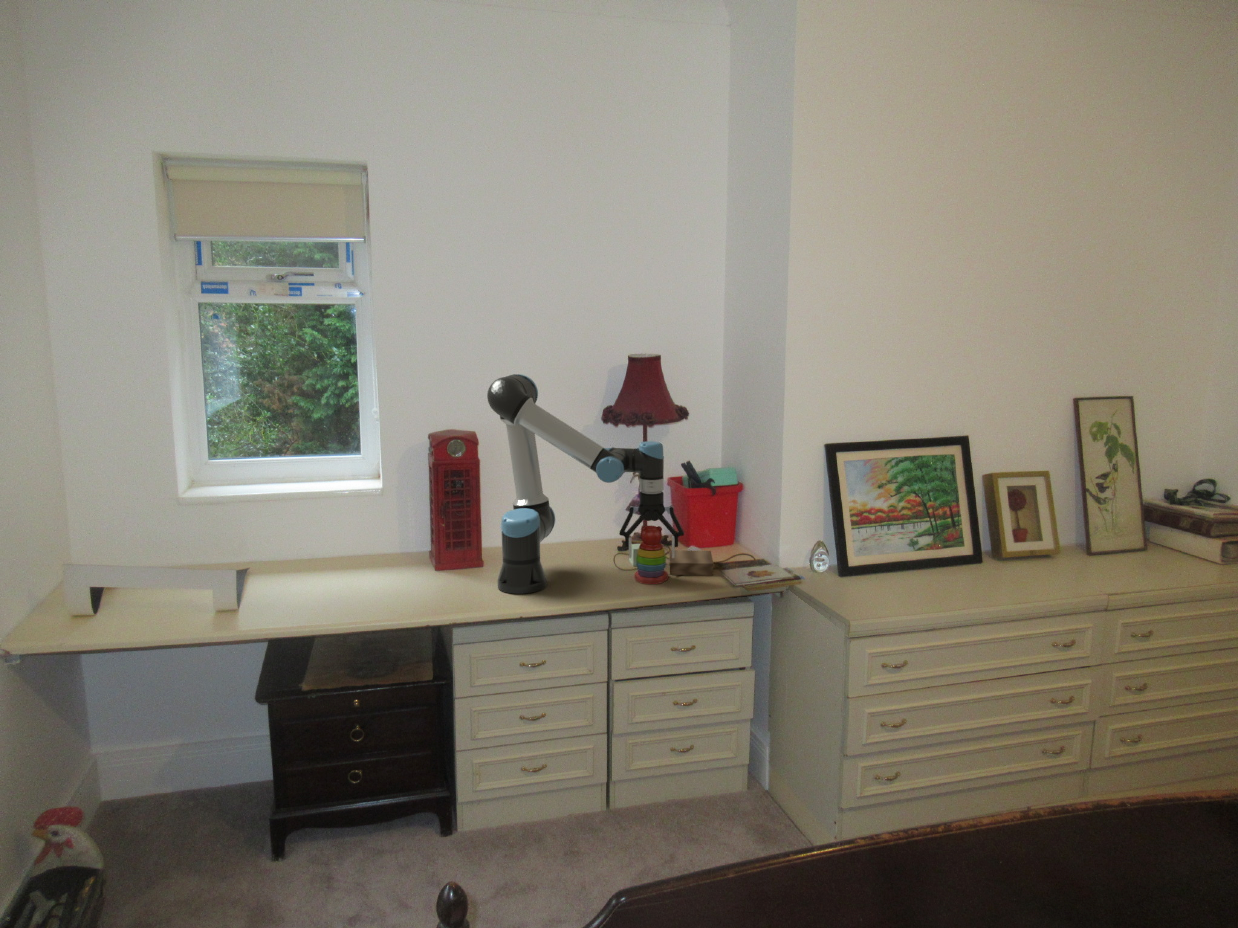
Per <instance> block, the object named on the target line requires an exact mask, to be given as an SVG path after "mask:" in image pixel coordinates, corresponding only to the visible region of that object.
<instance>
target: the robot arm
mask: <svg viewBox="0 0 1238 928" xmlns="http://www.w3.org/2000/svg"><path fill="white" fill-rule="evenodd" d="M538 397H539V390H538V387H537V384H536V383H535V381H534V380H533V379H532V378H530V377H529V376H527V375H524V374H516V373H515V374H514V373H513V374H509V375H506V376H503V377H499V378H497V379H495V380H494V381H493V382H492V383H491V384H490V385H489V387H488V389H487V403H488V405H489V407H490V409H492V411H493V412H494V413H495V414H497V415H499V418H500V421H501V422H502V423H503V424H505V427H506V434H507V440H508V446H509V453H510V454H509V455H510V459H511V460H510V461H511V467H512V468H511V469H512V474H513V475H512V476H513V482H514V487H515V488H514V489H515V494H516V498H515V499H514V501H512V507H513V510H508V511H506V512H505V513H504V514H503V515H502V517H501V524H500V530H501V550H502V551H501V553H502V564H501V567H500V570H499V574H498V577H497V589H498V590H499V591H501V592H502V593H503V592H504V593H508V594H512V595H513V594H514V595H519V594H520V595H521V594H522V595H523V594H524V595H525V594H533V593H536V592H540V591H542V590H544V589H546V587H547V576H546V573H545V571H544V568H543V565H542V562H541V542H543V541H544V540H545V539H546V538H547V537H548V536H549V535H550V534H551V533H552V531H553V529H554V527H555V524H556V515H555V512H554V510H553V508H552V506H550V499H549V497H548V496H546V494H544V490H543V484H542V483H543V482H542V477H541V476H542V475H541V470H540V464H539V463H540V461H539V455H538V448H537V441H536V436H538V438H539V437H540V438H541V439H542V440H544V441H546V442H548V443H549V444H551V446H553V447H555V448H556V449H558V450H560V451H561V452H563V453H565V454H567V455H568V456H569V457H571V458H573V459H574V460H575V461H577V462H579V464H582V465H584V466H585V467H586V468H588V469H590V470H591V471H593V472H594V473H596V476H597V478H598V479H599V480H600V481H601V482H603V483H608V484H611V483H614V482H616V481H618V480H620V478H622V477H623V475H624V474H625V473H635V474H636V473H638V475H639V477H638V479H639V491H640V492H639V505H638V506H634V505H630V506H629V511H628V514H627V516H626V518H625V520H624V522H623V523H622V526H621V528H620V530H619V533H618V534H619V536H621V537H624V543H625V544H624V546H625V547H626V548H628V558H631V556H632V544H633V543H632V533H633V532H634V531H635V530H636V529H637V528H638V527H639V525H640V524H641V523H642V522H643V521H644V520H645V521H646V522H651V521H654V522H657V521H660V522H661V523H662V524H663V526H665V528H666V529H667V530H668V531H669V532H670V534H671V535H672V536H671V550H672V558H674V550H675V548H678V546H679V537H683V536H684V535H685V532H684V529H683V527H682V526H681V525H682V524H681V523H680V521H679V519H678V518H677V515H676V514H675V509H674V506H673V505H670V506H665V505H664V492H663V491H664V484H665V483H664V481H665V480H664V473H665V472H664V470H665V469H664V467H665V466H664V464H665V463H664V462H665V460H664V459H665V456H664V446H663V444H662V443H661V442H659V441H654V440H653V441H642V442H639V446H638V447H637V448H635V447H634V448H629V447H614V446H613V447H603V446H602V445H601V444H599V443H597V442H596V441H594V440H593V439H591V438H589V437H587V436H586V435H585V434H583V433H582V432H580V431H578V430H577V429H575V428H573V427H572V426H571V425H569V424H567V423H566V422H564V421H563V420H561V419H560V418H558V417H557V416H555V415H553V414H551V413H550V412H548V411H547V410H546V409H544V408H542V407H540V406H539V405H537V404H536V403H537V400H538ZM637 512H638V513H639V516H638V518H637V519H636V520H635V521H634V522H633V524H632V525H631V526H630V527H629V528H628V529H627V527H628V526H629V523H630V522H631V519H632V517H634V516H633V515H635V514H636V513H637ZM665 512H666V513H667V514H669V515H670V517H671V519H672V522H673V523H674V526H675V527H676V529H677V530H676V529H675V528H674V527H673V525H672V524H671V523H670V522H669V521H668V520H667V518H666V517H665V516H664V515H663V514H664V513H665Z"/></svg>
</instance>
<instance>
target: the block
mask: <svg viewBox="0 0 1238 928" xmlns="http://www.w3.org/2000/svg"><path fill="white" fill-rule="evenodd" d="M640 544H641V543H632V556H631V558H629V557H628V558H629V560H628V561H629V563H630V564H631V565H632V567H637V564H636V557H637V554H638V549H639V546H640Z"/></svg>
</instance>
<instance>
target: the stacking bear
mask: <svg viewBox="0 0 1238 928" xmlns="http://www.w3.org/2000/svg"><path fill="white" fill-rule="evenodd" d="M640 530H641V531H640V539H641V541H642V542H641V543H639V544H640V546H639V549H638V554H637V557H636V564H637V566H636V571H635V572H634V580H636V581H637V582H638V583H641V584H644V585H658V584H662V583H664V582H666V581H667V580H668V578H669V573H668V571H665V568H666V564H667V563H666V561H667V559H666V553H665V552H666V551H665V547H664V545H663V544H662V543H661V541H662V537H663V533H662V531H663V528H662V526H659V525H658V526H656V525H647V526H646V525H642V527H641V528H640Z"/></svg>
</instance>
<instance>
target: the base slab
mask: <svg viewBox="0 0 1238 928" xmlns="http://www.w3.org/2000/svg"><path fill="white" fill-rule="evenodd" d="M668 551H669V553H668V554H669V558H668V559H669V561H668V562H669V564H668V565H669V575H670V576H714V560H713V555H712V551H711V550H688V549H687V550H681V549H680V550H679V549H678V550H676V549H674V558H672V549H671V550H670V549H669V550H668Z"/></svg>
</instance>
